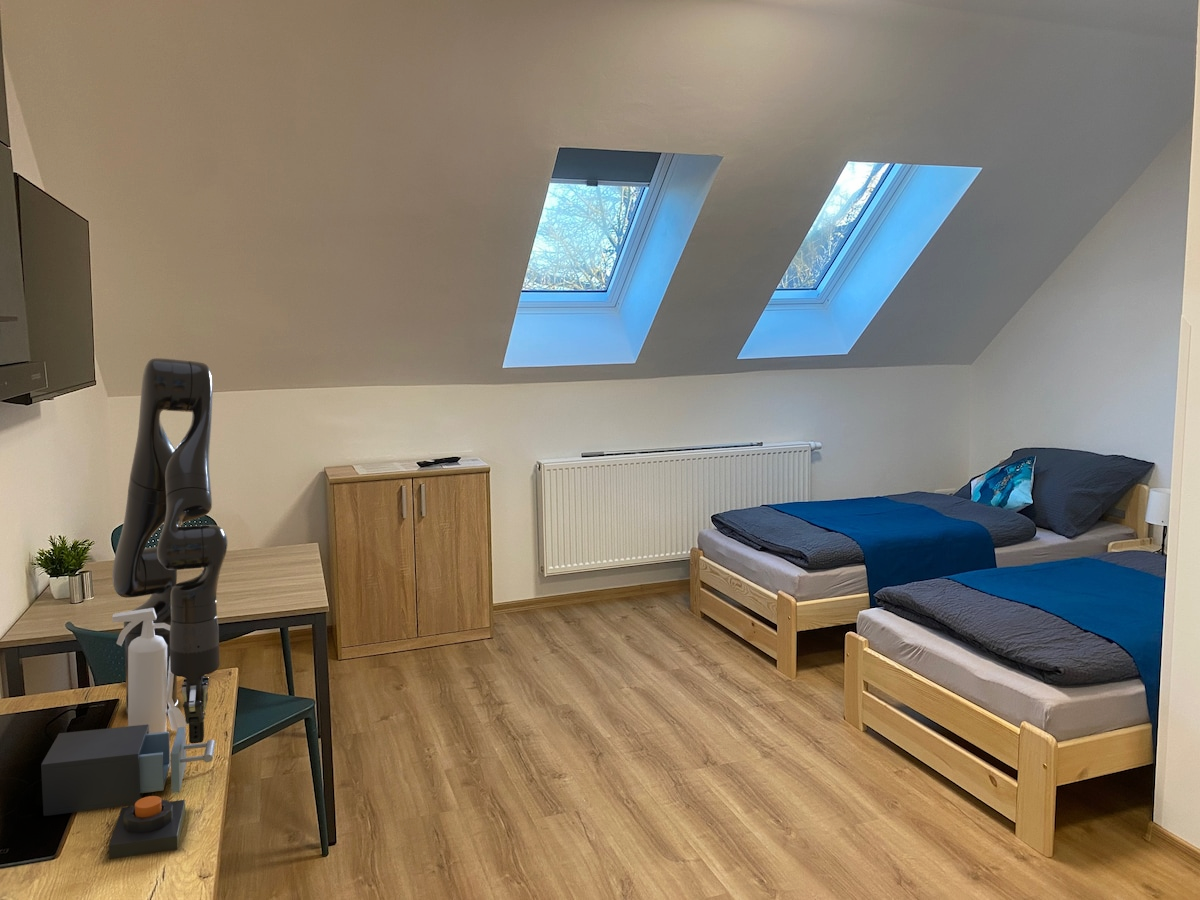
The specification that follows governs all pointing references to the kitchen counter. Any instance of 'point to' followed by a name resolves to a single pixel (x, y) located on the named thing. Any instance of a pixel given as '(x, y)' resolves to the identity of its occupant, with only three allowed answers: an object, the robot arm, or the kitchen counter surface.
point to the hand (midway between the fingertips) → (196, 741)
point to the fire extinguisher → (149, 674)
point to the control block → (147, 831)
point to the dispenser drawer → (167, 760)
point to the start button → (148, 806)
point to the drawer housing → (93, 770)
